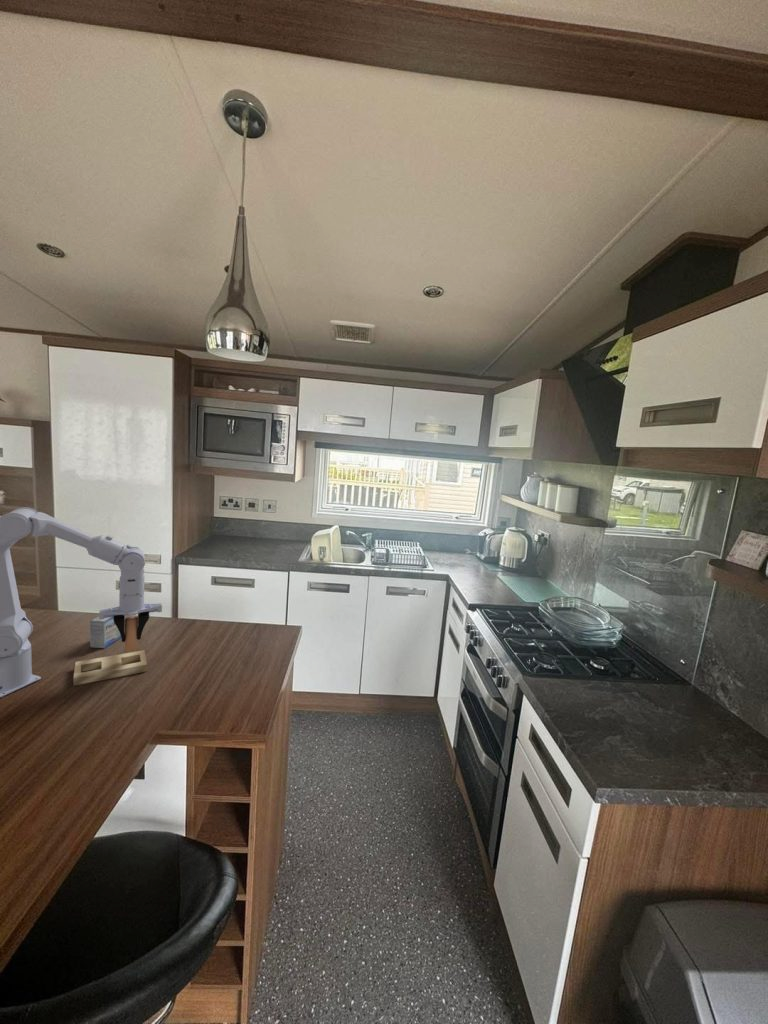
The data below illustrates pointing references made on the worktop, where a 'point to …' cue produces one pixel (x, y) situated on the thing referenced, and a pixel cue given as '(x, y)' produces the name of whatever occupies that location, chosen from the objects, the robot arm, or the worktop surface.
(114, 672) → the hole block
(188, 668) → the worktop surface
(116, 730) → the worktop surface
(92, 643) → the medicine box
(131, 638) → the peg
